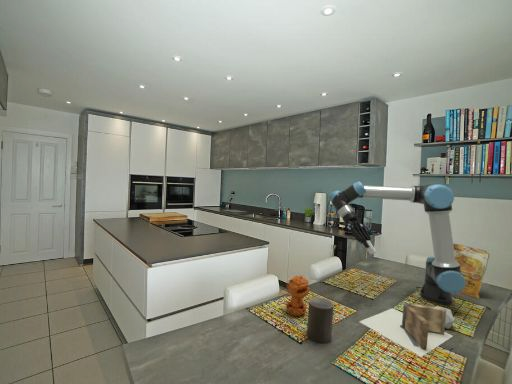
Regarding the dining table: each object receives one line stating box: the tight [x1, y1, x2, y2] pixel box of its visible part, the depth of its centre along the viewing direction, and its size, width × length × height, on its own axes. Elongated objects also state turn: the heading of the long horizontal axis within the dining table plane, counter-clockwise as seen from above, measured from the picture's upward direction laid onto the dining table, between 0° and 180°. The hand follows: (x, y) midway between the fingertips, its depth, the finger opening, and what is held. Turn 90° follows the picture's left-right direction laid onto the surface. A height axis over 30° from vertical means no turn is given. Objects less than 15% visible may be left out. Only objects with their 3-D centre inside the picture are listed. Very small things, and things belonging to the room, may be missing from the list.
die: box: [435, 305, 455, 330], centre depth 117 cm, size 8×9×10 cm
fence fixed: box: [402, 302, 447, 335], centre depth 111 cm, size 16×2×10 cm, turn 78°
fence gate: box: [405, 306, 429, 350], centre depth 104 cm, size 14×2×10 cm, turn 176°
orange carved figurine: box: [285, 274, 311, 317], centre depth 121 cm, size 11×11×18 cm
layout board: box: [358, 307, 454, 359], centre depth 112 cm, size 27×26×1 cm
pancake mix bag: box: [453, 243, 490, 299], centre depth 156 cm, size 7×19×28 cm, turn 24°
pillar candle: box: [306, 297, 334, 344], centre depth 104 cm, size 10×10×15 cm
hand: (373, 253), depth 129 cm, fingers closed
